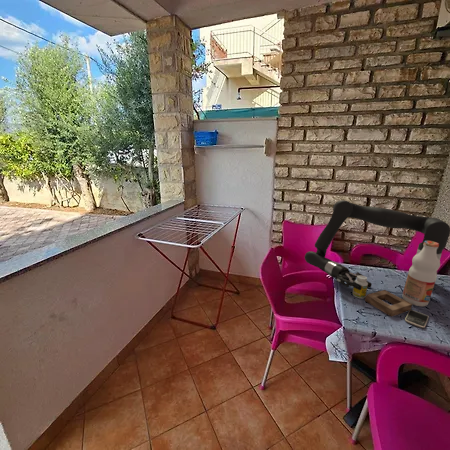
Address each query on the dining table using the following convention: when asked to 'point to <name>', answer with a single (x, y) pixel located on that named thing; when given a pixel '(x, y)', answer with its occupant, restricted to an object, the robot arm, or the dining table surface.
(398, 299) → the walnut holder
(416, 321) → the cell phone
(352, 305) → the dining table surface
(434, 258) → the fruit juice
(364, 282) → the supplement bottle
